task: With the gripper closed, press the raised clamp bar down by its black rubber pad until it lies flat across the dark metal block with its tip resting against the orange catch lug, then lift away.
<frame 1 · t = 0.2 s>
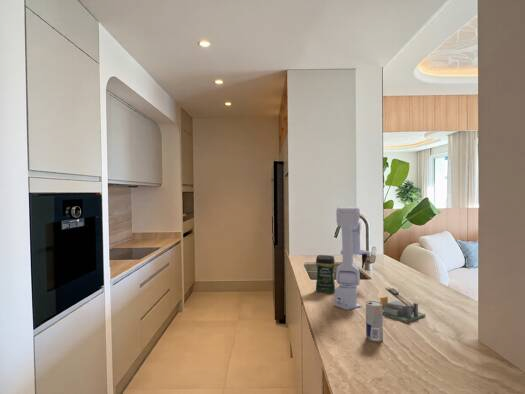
hand: (355, 267, 170), 11 cm above the table, tool pointing down, fingers open, 7 cm apart
clamp bar: (400, 297, 130), point 7 cm above the table, hinge at 22.0°
energy drink: (374, 339, 108), on the table
clamp board: (398, 313, 131), on the table
coffee jar: (325, 291, 163), on the table
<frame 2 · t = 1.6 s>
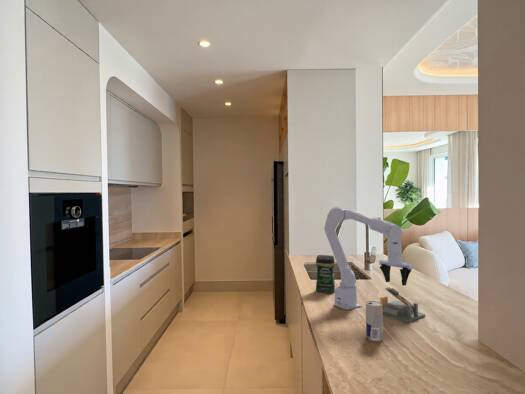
hand: (395, 283, 137), 11 cm above the table, tool pointing down, fingers open, 7 cm apart
nothing on the table moved.
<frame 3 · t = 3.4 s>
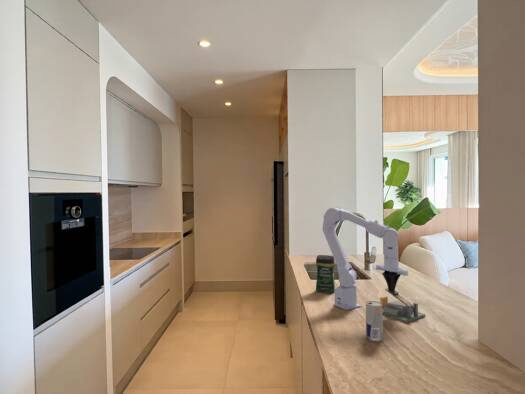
hand: (391, 289, 133), 9 cm above the table, tool pointing down, fingers closed
clamp bar: (400, 297, 130), point 7 cm above the table, hinge at 20.7°, touching gripper
everything else where it was.
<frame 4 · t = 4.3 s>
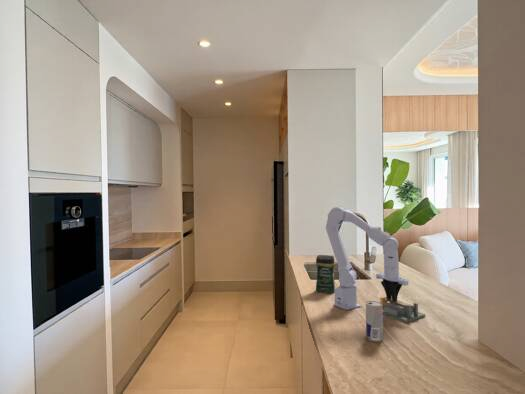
hand: (391, 298, 133), 5 cm above the table, tool pointing down, fingers closed on clamp bar, 2 cm apart
clamp bar: (399, 302, 130), point 5 cm above the table, hinge at -0.7°, touching gripper
everything else where it was.
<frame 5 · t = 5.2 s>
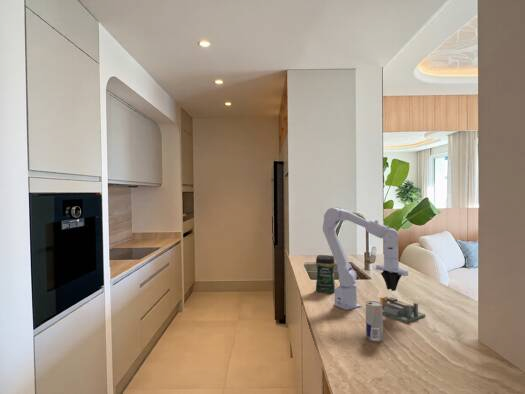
hand: (391, 289, 133), 9 cm above the table, tool pointing down, fingers closed
clamp bar: (399, 302, 130), point 5 cm above the table, hinge at -1.0°
everything else where it was.
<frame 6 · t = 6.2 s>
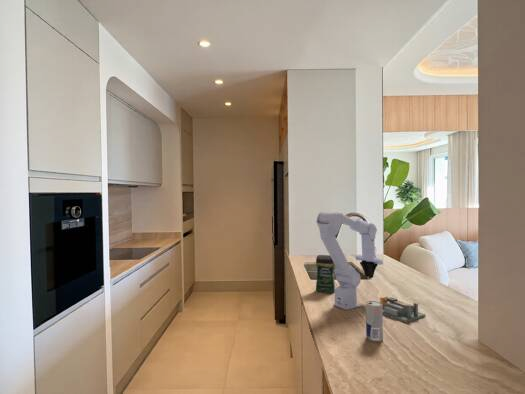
hand: (369, 277, 149), 10 cm above the table, tool pointing down, fingers closed
nothing on the table moved.
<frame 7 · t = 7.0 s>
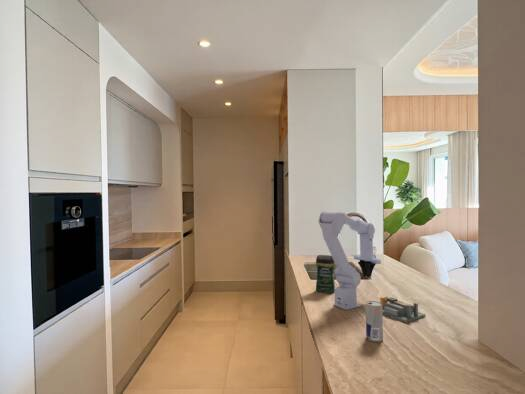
hand: (367, 276, 150), 10 cm above the table, tool pointing down, fingers closed
nothing on the table moved.
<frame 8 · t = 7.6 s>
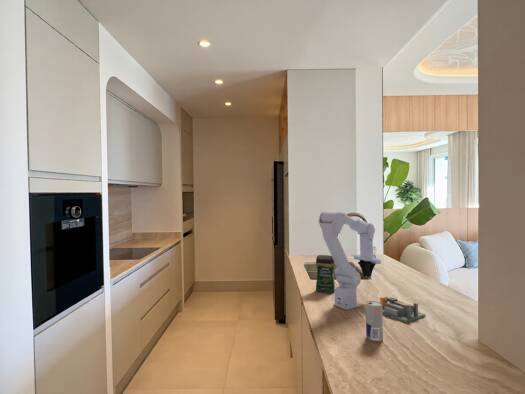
hand: (367, 276, 150), 10 cm above the table, tool pointing down, fingers closed
nothing on the table moved.
at the end: clamp bar at -1° (first picture: +22°); the gripper is holding nothing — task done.
